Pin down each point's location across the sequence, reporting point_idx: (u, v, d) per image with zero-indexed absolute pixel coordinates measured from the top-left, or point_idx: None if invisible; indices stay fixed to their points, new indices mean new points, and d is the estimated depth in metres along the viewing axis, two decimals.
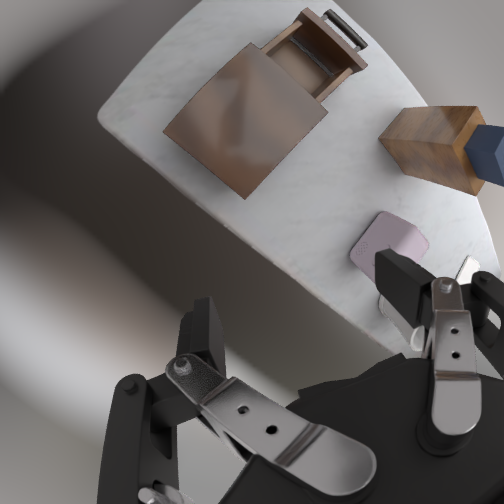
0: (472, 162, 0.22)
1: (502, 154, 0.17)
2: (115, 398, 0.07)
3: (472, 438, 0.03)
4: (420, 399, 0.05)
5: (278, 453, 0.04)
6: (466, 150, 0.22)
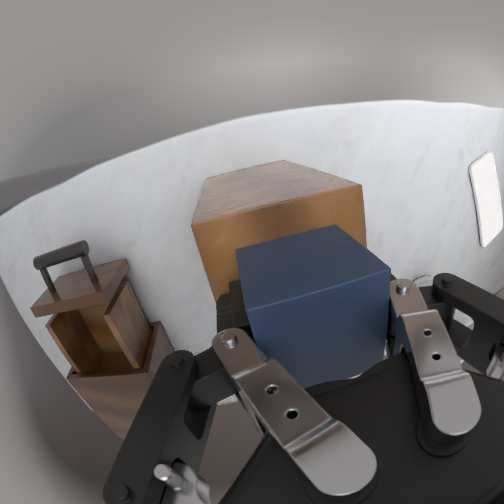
0: None
1: (300, 371, 0.09)
2: (159, 371, 0.08)
3: (472, 438, 0.03)
4: None
5: (290, 438, 0.04)
6: None
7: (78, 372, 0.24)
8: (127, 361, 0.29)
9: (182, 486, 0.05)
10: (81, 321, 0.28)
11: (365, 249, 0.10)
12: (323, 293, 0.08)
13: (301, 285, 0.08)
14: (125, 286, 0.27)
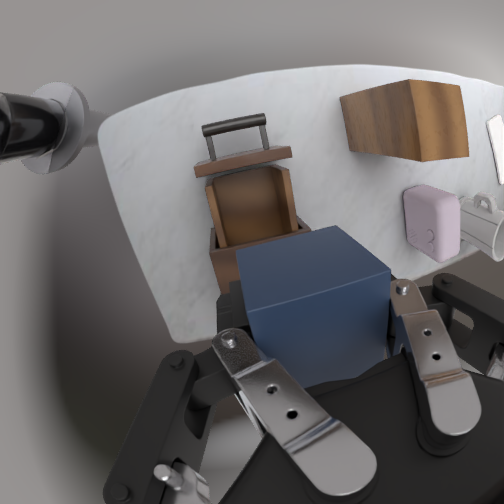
0: None
1: (300, 372, 0.09)
2: (159, 371, 0.08)
3: (472, 438, 0.03)
4: None
5: (290, 438, 0.04)
6: None
7: (223, 246, 0.31)
8: None
9: (182, 486, 0.05)
10: (219, 204, 0.34)
11: (365, 250, 0.10)
12: (323, 294, 0.08)
13: (301, 286, 0.08)
14: (278, 166, 0.33)
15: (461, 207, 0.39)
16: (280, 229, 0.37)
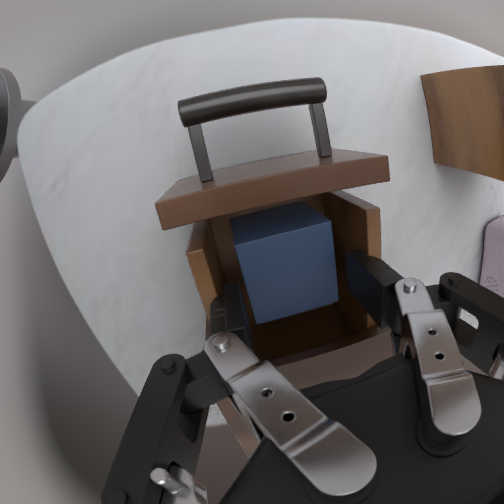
0: None
1: (274, 296, 0.14)
2: (151, 375, 0.08)
3: (472, 438, 0.03)
4: (420, 399, 0.05)
5: (288, 441, 0.04)
6: None
7: None
8: (304, 331, 0.19)
9: (179, 489, 0.05)
10: (221, 264, 0.18)
11: (317, 212, 0.14)
12: (283, 235, 0.13)
13: (270, 232, 0.13)
14: None
15: None
16: None
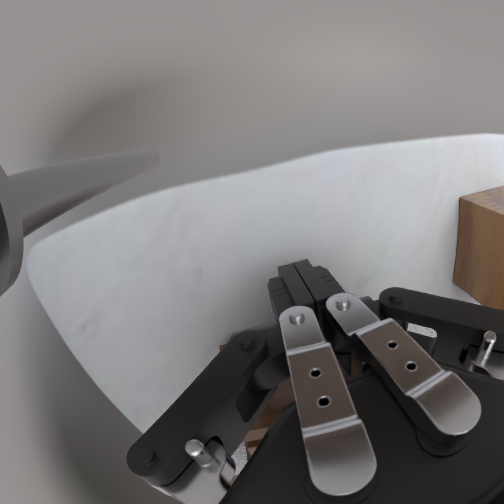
0: None
1: None
2: (227, 347, 0.08)
3: (472, 438, 0.03)
4: None
5: (311, 424, 0.05)
6: None
7: None
8: None
9: (208, 464, 0.05)
10: None
11: None
12: None
13: None
14: None
15: None
16: None
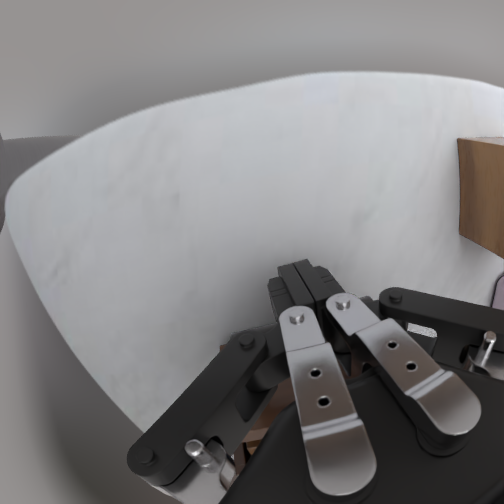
0: None
1: None
2: (227, 347, 0.08)
3: (472, 438, 0.03)
4: None
5: (311, 423, 0.05)
6: None
7: None
8: None
9: (208, 464, 0.05)
10: None
11: None
12: None
13: None
14: None
15: None
16: None
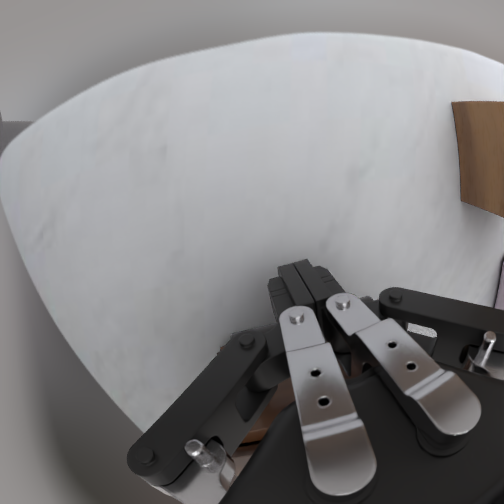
0: None
1: None
2: (227, 347, 0.08)
3: (472, 438, 0.03)
4: None
5: (311, 424, 0.05)
6: None
7: None
8: None
9: (208, 464, 0.05)
10: None
11: None
12: None
13: None
14: None
15: None
16: None
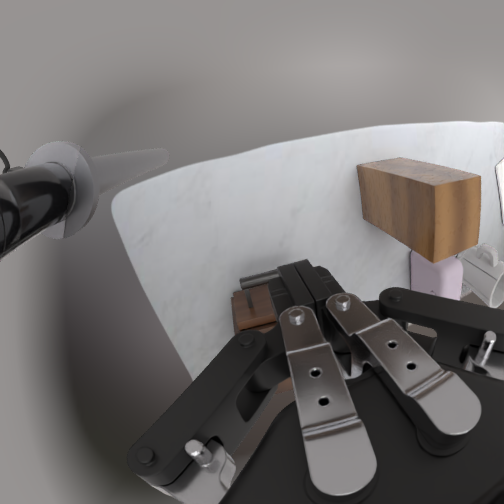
0: None
1: None
2: (227, 347, 0.08)
3: (472, 438, 0.03)
4: None
5: (311, 424, 0.05)
6: None
7: None
8: None
9: (208, 464, 0.05)
10: (252, 327, 0.40)
11: None
12: None
13: None
14: None
15: (464, 256, 0.42)
16: None
